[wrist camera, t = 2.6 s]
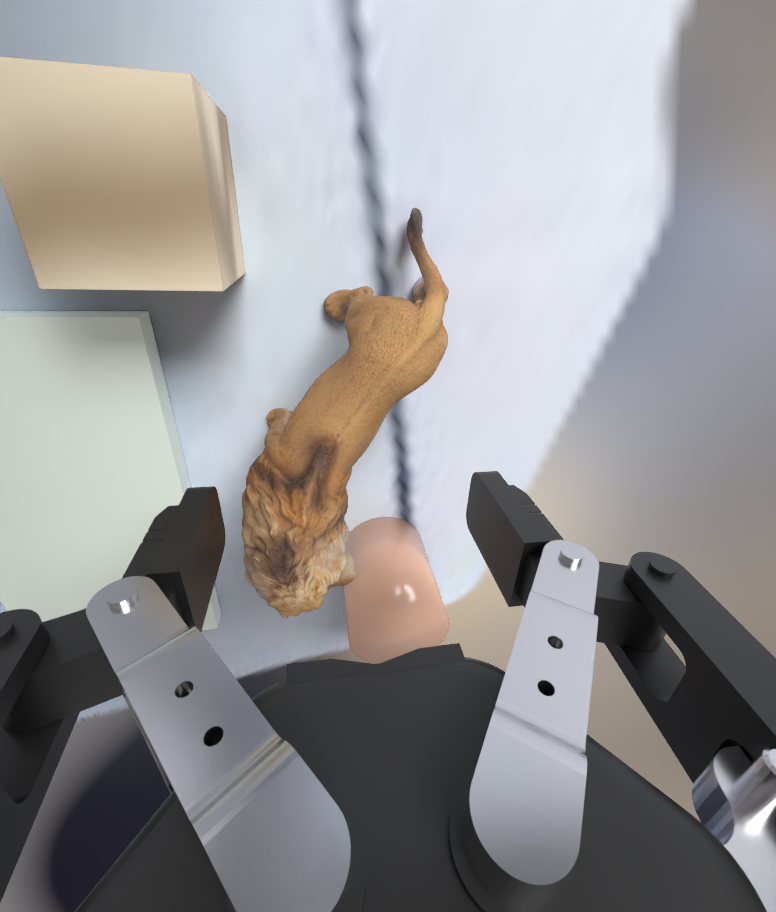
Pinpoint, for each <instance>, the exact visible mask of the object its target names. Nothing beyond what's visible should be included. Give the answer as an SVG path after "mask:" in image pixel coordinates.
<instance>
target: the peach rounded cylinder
mask: <svg viewBox="0 0 776 912" xmlns="http://www.w3.org/2000/svg"><path fill="white" fill-rule="evenodd" d="M345 551H347V552H348V553H349V554H350V555H351V556H352V558H353V561H354V570H355V572H356V576H355V579H354V580H353V581H352V582H351V583H349V584H347V585H345V586H344V593H345V605H346V616H347V627H348V638H349V645H350V648H351V650H352V651H353V653H354V654H355V655H356V656H357V657H359V658H360V659H362V660H363V661H366V662H368V663H371V664H379V663H382V662H385V661H387V660H390V659H393V658H395V657H398V656H400V655H403V654H405V653H408V652H411V651H413V650H416V649H418V648H425V647H433V646H439V645H440V644H441V643H442V642H443V641H444V639H445V637H446V635H447V633H448V630H449V618H448V615H447V612H446V610H445V607H444V604H443V601H442V598H441V595H440V592H439V589H438V586H437V583H436V581H435V578H434V575H433V572H432V569H431V566H430V563H429V560H428V557H427V554H426V552H425V549H424V546H423V543H422V540H421V537H420V534H419V533H418V531H417V530H416V528H415V527H414V526H413V525H411V524H410V523H408V522H407V521H404V520H402V519H399V518H394V517H380V518H375V519H371V520H368V521H365V522H363V523H361V524H360V525H358V526H356V527H355V528H354V529H353V530H352V531H351V532H349V534H348V539H347V541H346V544H345Z"/></svg>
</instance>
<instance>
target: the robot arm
mask: <svg viewBox="0 0 776 912" xmlns="http://www.w3.org/2000/svg"><path fill="white" fill-rule="evenodd" d="M466 519H467V525H468V528H469V531H470V533H471V535H472V537H473V539H474V540H475V542H476V544H477V546H478V548H479V550H480V552H481V554H482V556H483V558H484V560H485V562H486V564H487V566H488V567H489V569H490V571H491V573H492V575H493V577H494V579H495V581H496V583H497V585H498V587H499V589H500V591H501V592H502V595H503V596H504V598H505V600H506V602H507V604H508V606H509V607H512V606H520V605H524V607H525V610H524V613H523V616H522V620H521V623H520V626H519V630H518V633H517V636H516V639H515V643H514V646H513V649H512V653H511V656H510V660H509V662H508V666H507V669H506V672H504V671H502V670H501V669H499V668H497V667H495V666H493V665H491V664H489V663H486V662H483V661H480V660H476V659H472V658H467V657H464V655H463V652H462V650H461V647H460V644H459V643H458V644H449V645H441V646H433V647H425V648H418V649H416V650H413V651H411V652H408V653H405V654H403V655H400V656H398V657H395V658H393V659H390V660H387V661H385V662H382V663H379V664H371V663H361V662H353V661H345V660H335V659H327V660H319V661H311V662H302V663H294V664H287V676H286V680H283V681H280V682H278V683H276V684H274V685H272V686H270V687H268V688H267V689H265V690H264V691H262V692H260V693H259V694H257V695H256V696H255V697H254V698H252V699H250V697H249V696H248V695H247V694H246V692H245V691H244V689H243V688H242V687H241V685H240V684H239V683H238V681H237V680H236V679H235V677H234V676H233V675H232V673H231V672H230V671H229V669H228V668H227V667H226V665H225V664H224V663H223V661H222V660H221V659H220V657H219V656H218V655H217V653H216V652H215V651H214V649H213V648H212V647H211V645H210V644H209V643H208V641H207V640H206V639H205V637H204V636H203V635H202V633H201V631H202V627H203V624H204V620H205V616H206V613H207V609H208V605H209V602H210V598H211V594H212V591H213V587H214V584H215V580H216V576H217V573H218V569H219V565H220V562H221V558H222V554H223V551H224V546H225V528H224V523H223V518H222V513H221V507H220V502H219V497H218V493H217V489H216V488H215V487H196V488H187V489H186V491H185V493H184V495H183V497H182V499H181V502H180V504H179V505H174V506H168V507H167V508H165V509H164V510H163V511H162V512H161V513H159V514H158V515H157V516H156V517H155V518H154V520H153V522H152V524H151V525H150V527H149V529H148V532H147V533H146V535H145V536H144V538H143V543H141V544H140V546H139V548H138V549H137V551H136V553H135V555H134V557H133V559H132V560H131V562H130V564H129V566H128V568H127V570H126V572H125V573H124V575H123V577H122V579H119V580H117V581H114V582H112V583H110V584H108V585H107V586H105V587H103V588H102V589H101V590H99V591H98V592H97V593H96V594H95V595H94V596H93V597H92V598H91V600H90V601H89V603H88V605H87V608H85V609H83V610H80V611H77V612H74V613H71V614H67V615H64V616H61V617H58V618H54V619H51V620H48V621H45V622H42V620H41V618H40V616H39V615H38V614H37V613H36V612H35V611H33V610H29V609H16V610H10V611H6V612H3V613H0V902H1V900H2V897H3V895H4V892H5V890H6V888H7V885H8V883H9V880H10V878H11V876H12V873H13V871H14V868H15V866H16V863H17V861H18V859H19V856H20V854H21V852H22V849H23V847H24V844H25V842H26V840H27V837H28V835H29V832H30V830H31V828H32V825H33V823H34V820H35V818H36V816H37V813H38V811H39V808H40V806H41V804H42V801H43V799H44V796H45V794H46V792H47V789H48V787H49V784H50V782H51V780H52V777H53V775H54V772H55V770H56V768H57V765H58V763H59V760H60V758H61V756H62V753H63V751H64V749H65V746H66V744H67V741H68V738H69V736H70V734H71V732H72V729H73V727H74V725H75V722H76V720H77V717H78V715H79V713H80V711H83V710H85V709H88V708H90V707H93V706H95V705H98V704H100V703H103V702H105V701H108V700H110V699H113V698H115V697H118V696H120V695H123V696H124V698H125V700H126V702H127V704H128V706H129V708H130V711H131V713H132V715H133V717H134V719H135V720H136V723H137V725H138V727H139V729H140V731H141V733H142V735H143V737H144V739H145V741H146V743H147V745H148V747H149V749H150V751H151V753H152V755H153V757H154V759H155V762H156V763H157V766H158V768H159V770H160V772H161V774H162V776H163V778H164V781H165V783H166V785H167V787H168V789H169V791H170V793H171V794H170V796H169V797H168V798H167V799H166V800H165V801H164V803H163V804H162V805H161V806H160V808H159V809H158V810H157V811H156V813H155V814H154V815H153V816H152V817H151V819H150V820H149V821H148V822H147V823H146V825H145V826H144V827H143V828H142V830H141V831H140V832H139V833H138V835H137V836H136V837H135V838H134V839H133V841H132V842H131V843H130V844H129V846H128V847H127V848H126V849H125V850H124V852H123V853H122V854H121V855H120V857H119V858H118V859H117V860H116V861H115V863H114V864H113V865H112V866H111V867H110V869H109V870H108V871H107V872H106V874H105V875H104V876H103V877H102V879H101V880H100V881H99V882H98V883H97V885H96V886H95V887H94V888H93V890H92V891H91V892H90V893H89V894H88V896H87V897H86V898H85V899H84V901H83V902H82V903H81V904H80V905H79V907H78V908H77V909H76V910H75V912H776V658H775V657H773V655H771V653H770V652H769V651H768V650H767V649H765V647H763V646H762V645H761V644H760V643H759V642H758V641H757V640H756V639H755V638H754V637H753V636H752V635H751V634H750V633H749V632H748V631H747V630H746V629H745V628H744V627H743V626H742V625H741V624H740V623H739V622H738V621H737V620H736V619H735V618H734V617H733V616H732V615H731V614H730V613H729V612H728V611H727V610H726V609H725V608H724V607H723V606H722V605H721V604H720V603H719V602H718V601H717V600H716V599H715V598H714V597H713V596H712V595H711V594H710V593H709V592H708V591H707V590H706V589H705V588H704V587H703V586H702V585H701V584H700V583H699V582H698V581H697V580H696V579H695V578H694V577H693V576H692V575H691V574H690V573H689V572H688V571H687V570H686V569H685V568H684V567H683V566H681V565H680V564H678V563H677V562H675V561H673V560H672V559H670V558H668V557H665V556H663V555H660V554H656V553H651V552H639V553H636V554H634V555H633V556H632V558H631V560H630V562H629V565H628V566H625V565H618V564H612V563H605V562H599V561H598V559H597V557H596V556H595V555H594V554H593V553H592V552H591V551H590V550H589V549H587V548H586V547H584V546H582V545H580V544H578V543H575V542H572V541H567V540H564V539H563V538H562V537H561V536H560V535H559V533H558V532H557V531H556V529H554V527H553V526H552V524H551V523H550V522H549V521H548V519H547V518H546V517H545V516H544V515H543V514H541V511H540V510H539V508H538V507H537V506H535V503H534V502H533V501H532V500H531V498H530V497H529V496H528V495H527V493H525V492H523V491H522V490H520V489H519V488H517V487H516V486H514V485H508V484H507V483H506V481H505V480H504V479H503V478H502V476H501V475H500V474H499V472H497V471H492V472H475V473H474V474H473V475H472V478H471V484H470V491H469V498H468V504H467V511H466ZM666 633H667V634H668V636H669V637H670V638H671V639H672V641H673V642H674V643H675V644H676V646H677V647H678V648H679V649H680V651H681V652H682V654H683V656H684V659H685V663H686V666H685V665H684V664H683V662H682V661H681V660H680V659H679V657H678V656H677V655H676V654H675V652H674V651H673V650H672V648H671V647H670V646H669V645H668V643H667V642H666V641H665V639H664V636H665V635H666ZM596 642H602V643H605V645H606V646H607V648H608V650H609V651H610V653H611V654H612V656H613V657H614V659H615V661H616V662H617V664H618V665H619V667H620V669H621V670H622V672H623V673H624V675H625V676H626V678H627V680H628V681H629V683H630V684H631V686H632V687H633V689H634V691H635V692H636V694H637V695H638V697H639V698H640V700H641V702H642V703H643V705H644V706H645V708H646V709H647V711H648V713H649V714H650V716H651V717H652V719H653V720H654V722H655V724H656V725H657V727H658V728H659V730H660V732H661V733H662V735H663V736H664V738H665V739H666V741H667V743H668V744H669V746H670V747H671V749H672V751H673V752H674V754H675V755H676V757H677V758H678V760H679V761H680V763H681V765H682V766H683V768H684V770H685V771H686V773H687V774H688V776H689V777H690V779H691V781H692V782H693V787H692V800H693V805H694V807H695V810H696V813H697V814H698V817H699V819H700V821H701V822H700V821H698V820H697V819H696V818H694V816H692V815H691V814H690V813H688V812H687V811H686V810H685V809H683V808H682V807H681V806H679V805H678V804H677V803H676V802H674V801H673V800H672V799H670V798H669V797H668V796H666V795H665V794H664V793H663V792H661V791H660V790H659V789H657V788H656V787H655V786H653V785H652V784H651V783H650V782H648V781H647V780H646V779H644V778H643V777H642V776H640V775H639V774H638V773H637V772H635V771H634V770H633V769H631V768H630V767H629V766H628V765H626V764H625V763H624V762H622V761H621V760H620V759H618V758H617V757H616V756H614V755H613V754H612V753H611V752H609V751H608V750H606V749H605V748H604V747H603V746H602V745H600V744H599V743H597V742H596V741H595V740H594V739H592V738H591V737H590V736H589V735H587V724H588V715H589V705H590V696H591V686H592V676H593V667H594V657H595V647H596Z"/></svg>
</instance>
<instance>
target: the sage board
mask: <svg viewBox="0 0 776 912" xmlns="http://www.w3.org/2000/svg"><path fill="white" fill-rule="evenodd" d="M187 488H191V485H190V481H189V477H188V472H187V468H186V464H185V460H184V456H183V452H182V448H181V443H180V439H179V435H178V431H177V427H176V423H175V419H174V415H173V410H172V406H171V402H170V398H169V394H168V390H167V386H166V381H165V377H164V373H163V369H162V365H161V361H160V357H159V353H158V348H157V344H156V340H155V336H154V332H153V328H152V324H151V319H150V315H149V311H0V601H1V603H2V605H3V606H4V608H5V609H6V611H10V610H16V609H29V610H33V611H35V612H36V613H37V614H38V615H39V616H40V618H41V620H42V622H45V621H48V620H51V619H54V618H58V617H61V616H64V615H67V614H71V613H74V612H77V611H80V610H83V609H85V608H87V605H88V603H89V601H90V600H91V598H92V597H93V596H94V595H95V594H96V593H97V592H98V591H99V590H101V589H102V588H103V587H105V586H107V585H108V584H110V583H112V582H114V581H117V580H119V579H122V577H123V575H124V573H125V572H126V570H127V568H128V566H129V564H130V562H131V560H132V559H133V557H134V555H135V553H136V551H137V549H138V548H139V546H140V544H141V543H143V538H144V536H145V535H146V533H147V532H148V529H149V527H150V525H151V524H152V522H153V520H154V518H155V517H156V516H157V515H158V514H159V513H161V512H162V511H163V510H164V509H165V508H167V507H168V506H174V505H179V504H180V502H181V499H182V497H183V495H184V493H185V491H186V489H187ZM220 617H221V609H220V605H219V601H218V596H217V592H216V588H215V584H214V587H213V591H212V594H211V598H210V602H209V605H208V609H207V613H206V616H205V620H204V624H203V627H202V631H204V630H213V629H218V625H219V621H220Z"/></svg>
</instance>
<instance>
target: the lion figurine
mask: <svg viewBox="0 0 776 912" xmlns="http://www.w3.org/2000/svg"><path fill="white" fill-rule="evenodd" d="M422 231H423V230H422V215H421V212H420V210H419V209H417V208H413V209H412V212H411V215H410V219H409V221H408V224H407V235H408V240H409V243H410V246H411V251H412V253H413V254H414V256H415V259H416V261H417V263H418V265H419V268H420V271H421V274H422V277H421V278H420V279H419V280H418V281H417V282H416V284H415V286H414V288H413V296H414V298H415V303H414V304H413V303H412V302H411V301H408V300H406V299H403V298H400V297H394V296H375V297H373V290H372V289H371V288H370V287H368V286H365V287H361V288H357V289H353V290H339V291H336V292H334V293H332V294H330V295H329V296H328V297H327V298H326V300H325V302H324V307H325V312H326V313H327V314H328V315H329V316H330V317H331V318H333V319H334V320H336V321H339V322H340V321H343V320H345V328H346V330H347V335H348V340H349V345H350V346H349V349H348V351H347V352H346V353H345V354H344V356H343V357H342V358H341V359H340V360H338V361H337V362H336V363H335V364H334V365H332V366H331V367H330V368H329V369H327V370H326V371H325V372H324V373H323V374H321V375H320V376H319V377H318V378H317V379H316V380H315V382H314V383H313V384H312V385H311V387H310V388H309V390H308V391H307V393H306V394H305V396H304V397H303V399H302V401H301V402H300V403H299V404H298V406H297V407H296V408H295V410H294V411H293V413H292V412H291V411H288V410H286V409H284V408H278V409H274V410H272V411H270V412H269V414H268V415H267V421H268V425H269V426H270V429H269V431H268V433H267V434H266V437H265V442H264V443H265V449H264V451H263V453H262V454H261V455H260V456H258V458H257V459H256V460H255V461H254V463H253V464H252V465H251V467H250V469H249V472H248V475H247V478H246V489H245V491H244V493H243V495H242V507H243V520H242V526H243V530H242V536H243V540H244V542H245V543H244V549H245V557H244V563H245V567H246V572H245V578H246V581H247V582H248V583H249V584H251V585H253V586H255V588H256V591H257V593H258V594H259V595H260V597H262V598H263V599H265V600H266V601H267V603H268V605H269V606H272V607H274V608H275V609H276V610H277V611H279V613H280V615H281V616H282V617H284V618H287V617H288V616H289V615H292V616H298V615H299V614H300V613H301V612H307V611H311V610H313V609H318V608H319V607H320V606H321V605H322V603H323V602H324V596H325V595H326V594H327V591H328V590H329V589H331V588H332V587H334V586H345V585H347V584H349V583H351V582H352V581H353V580H354V579H355V576H356V572H355V570H354V561H353V558H352V556H351V555H350V554H349V553H348V552H347V551H345V544H346V541H347V539H348V533H349V531H348V527H347V525H346V523H345V521H344V515H345V514H346V512H347V508H348V495H347V491H346V485H347V482H348V480H349V478H350V475H351V471H352V466H353V465H354V464H355V463H356V461H357V460H358V459H359V458H360V457H361V455H362V454H363V453H364V452H365V451H366V449H367V447H368V446H369V444H370V443H371V441H372V440H373V438H374V437H375V435H376V433H377V431H378V430H379V427H380V426H381V424H382V422H383V420H384V418H385V416H386V414H387V413H388V412H389V410H390V409H391V408H392V406H393V405H394V404H395V403H396V402H398V401H399V400H400V399H402V398H403V397H405V396H406V395H408V394H409V393H411V392H413V391H414V390H416V389H417V388H418V387H420V386H421V385H423V384H424V383H426V382H427V381H428V380H429V379H430V378H431V377H432V375H433V374H434V372H435V371H436V369H437V367H438V365H439V363H440V361H441V359H442V357H443V355H444V353H445V351H446V348H447V344H448V335H447V332H446V329H445V327H444V326H443V321H442V317H443V313H444V306H445V302H446V301H447V298H448V292H449V291H448V288H447V286H446V285H445V284H444V282H443V280H442V277H441V275H440V273H439V271H438V269H437V267H436V266H435V264H434V262H433V261H432V260H431V258H430V257H429V255H428V253H427V250H426V248H425V245H424V242H423V240H422Z"/></svg>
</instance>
